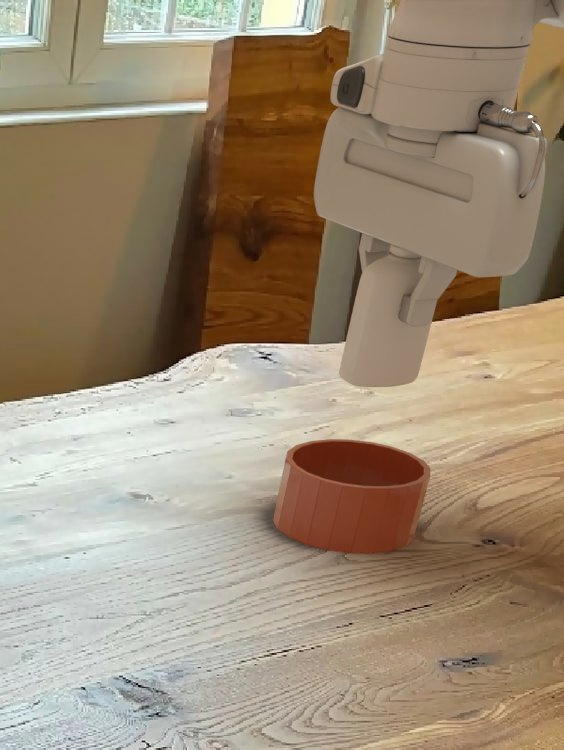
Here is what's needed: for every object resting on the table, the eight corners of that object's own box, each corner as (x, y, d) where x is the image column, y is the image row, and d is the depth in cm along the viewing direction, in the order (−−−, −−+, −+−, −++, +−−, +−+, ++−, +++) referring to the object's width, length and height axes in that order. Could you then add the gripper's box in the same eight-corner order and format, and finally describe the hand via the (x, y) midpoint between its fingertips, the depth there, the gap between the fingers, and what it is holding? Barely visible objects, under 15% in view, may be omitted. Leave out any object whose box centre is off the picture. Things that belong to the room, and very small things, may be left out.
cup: (357, 513, 121) (376, 433, 117) (436, 563, 113) (460, 480, 109) (244, 527, 118) (260, 446, 114) (317, 579, 110) (336, 494, 106)
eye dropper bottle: (337, 368, 110) (376, 190, 103) (415, 375, 109) (460, 196, 102) (337, 385, 107) (378, 203, 99) (417, 393, 106) (465, 209, 98)
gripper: (595, 116, 90) (525, 352, 98) (396, 68, 105) (351, 277, 113) (508, 119, 88) (445, 359, 97) (319, 70, 103) (279, 282, 112)
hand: (393, 314), depth 105 cm, fingers closed on eye dropper bottle, 3 cm apart
